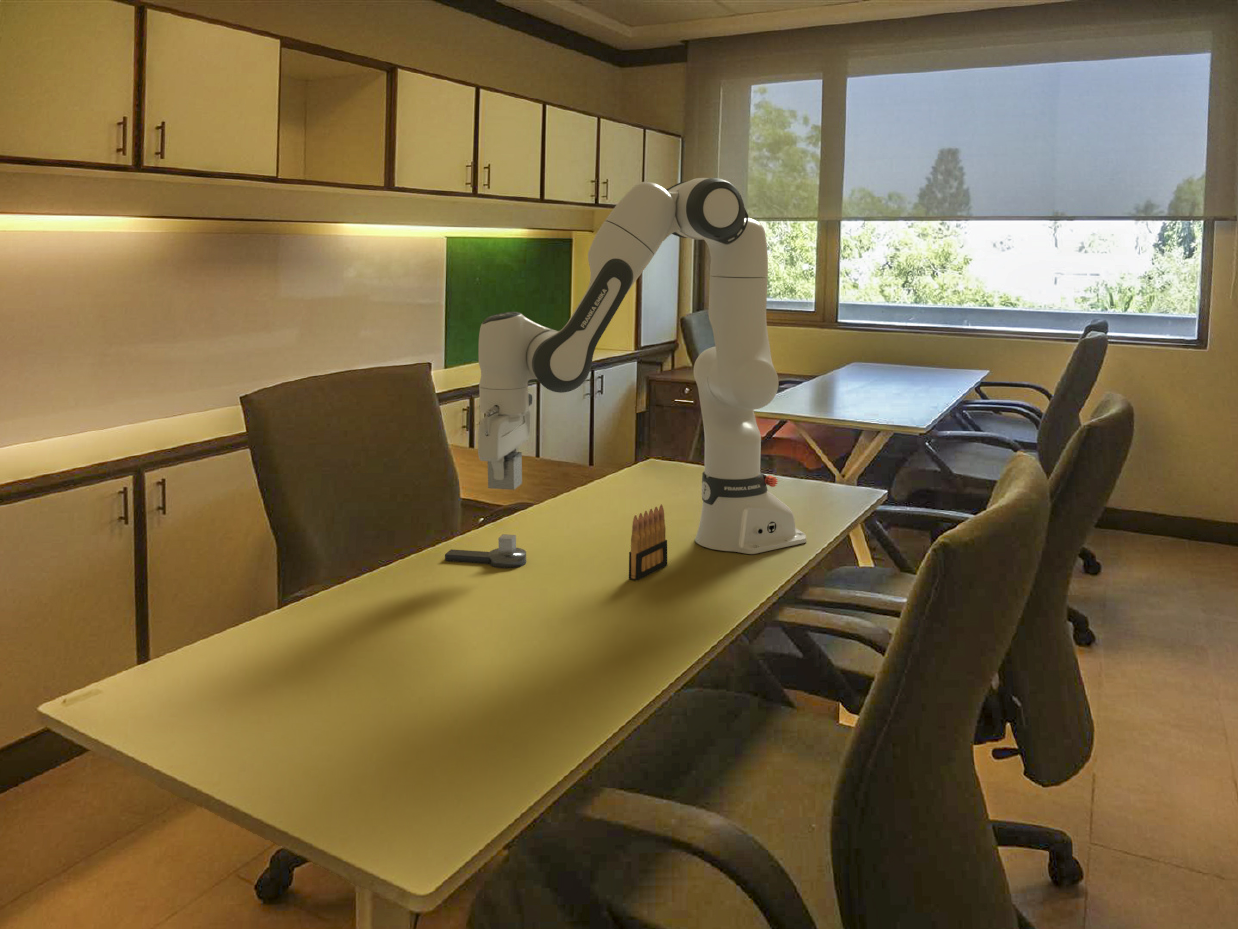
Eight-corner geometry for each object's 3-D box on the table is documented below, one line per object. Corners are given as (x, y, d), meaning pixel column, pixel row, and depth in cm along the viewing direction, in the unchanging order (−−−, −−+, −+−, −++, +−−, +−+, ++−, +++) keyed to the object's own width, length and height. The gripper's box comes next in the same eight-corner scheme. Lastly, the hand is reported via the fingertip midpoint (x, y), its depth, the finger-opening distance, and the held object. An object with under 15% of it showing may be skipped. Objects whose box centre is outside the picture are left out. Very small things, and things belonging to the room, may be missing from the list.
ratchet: (530, 558, 207) (530, 532, 205) (520, 569, 200) (519, 543, 199) (454, 553, 210) (453, 527, 209) (441, 564, 203) (440, 538, 202)
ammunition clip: (636, 581, 193) (637, 517, 191) (628, 579, 194) (628, 515, 192) (667, 565, 202) (668, 504, 199) (659, 563, 203) (659, 502, 200)
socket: (522, 483, 202) (521, 452, 201) (514, 489, 198) (513, 457, 196) (496, 481, 203) (496, 451, 202) (488, 488, 199) (487, 456, 197)
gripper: (502, 412, 186) (504, 489, 189) (535, 393, 206) (536, 464, 209) (468, 410, 188) (470, 487, 191) (504, 392, 207) (505, 462, 210)
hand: (505, 475), depth 200 cm, fingers closed on socket, 5 cm apart
